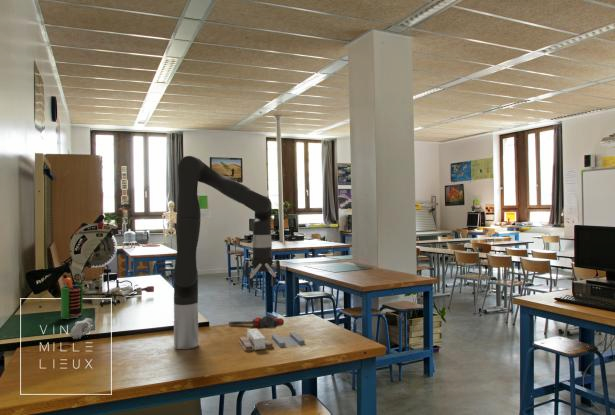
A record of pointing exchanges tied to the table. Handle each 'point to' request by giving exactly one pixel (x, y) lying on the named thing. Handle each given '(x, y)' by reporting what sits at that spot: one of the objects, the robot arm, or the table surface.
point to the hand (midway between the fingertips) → (262, 286)
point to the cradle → (248, 346)
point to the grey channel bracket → (288, 340)
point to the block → (256, 339)
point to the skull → (81, 328)
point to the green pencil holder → (71, 299)
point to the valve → (261, 322)
